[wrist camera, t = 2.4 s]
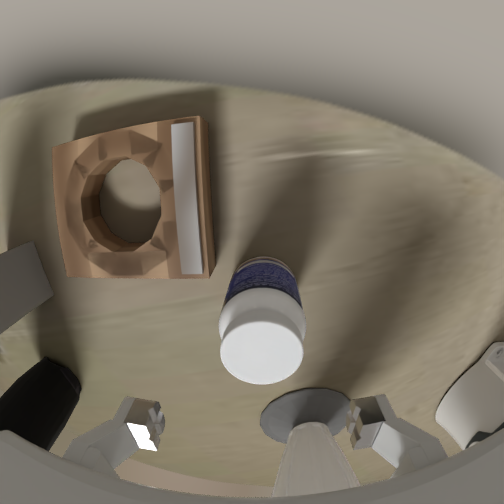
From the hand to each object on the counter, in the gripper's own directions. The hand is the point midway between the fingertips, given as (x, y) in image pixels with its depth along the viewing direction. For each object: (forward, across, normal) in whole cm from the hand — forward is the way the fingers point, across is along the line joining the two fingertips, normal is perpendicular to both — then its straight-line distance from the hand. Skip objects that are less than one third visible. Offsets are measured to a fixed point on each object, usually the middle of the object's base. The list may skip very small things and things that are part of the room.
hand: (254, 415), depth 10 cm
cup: (+15, -6, +18) cm, 24 cm away
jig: (+15, +10, -8) cm, 20 cm away
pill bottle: (+15, -1, 0) cm, 15 cm away
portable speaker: (+16, +28, +15) cm, 36 cm away
